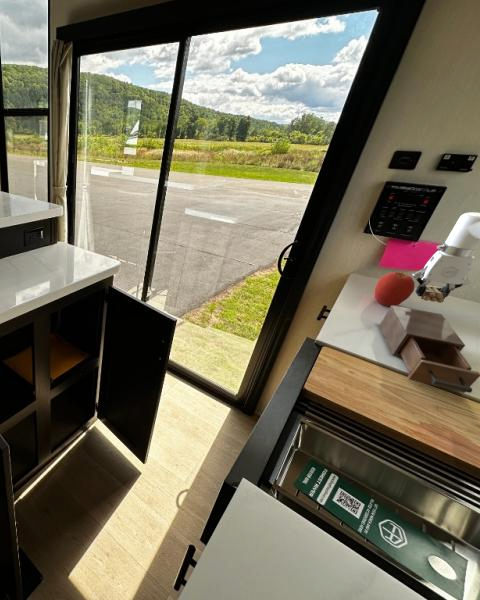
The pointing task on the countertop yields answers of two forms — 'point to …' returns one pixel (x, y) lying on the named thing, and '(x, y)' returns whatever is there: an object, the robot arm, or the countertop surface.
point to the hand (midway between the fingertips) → (429, 295)
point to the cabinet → (416, 328)
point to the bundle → (433, 294)
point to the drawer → (437, 365)
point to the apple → (394, 289)
